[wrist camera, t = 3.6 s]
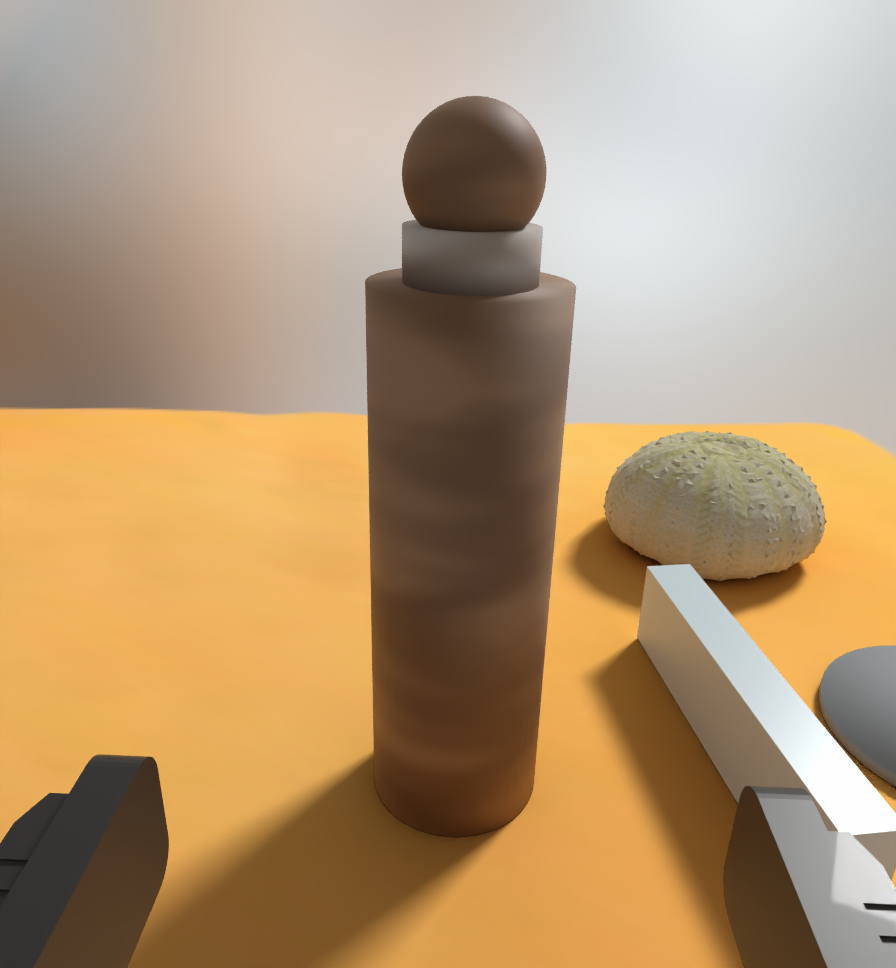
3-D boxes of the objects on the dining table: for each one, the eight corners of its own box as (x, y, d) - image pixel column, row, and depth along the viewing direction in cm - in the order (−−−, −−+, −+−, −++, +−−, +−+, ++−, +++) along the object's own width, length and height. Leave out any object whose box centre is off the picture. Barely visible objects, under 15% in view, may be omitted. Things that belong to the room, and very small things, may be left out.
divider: (814, 930, 19) (842, 836, 18) (637, 637, 30) (647, 565, 29) (877, 922, 19) (908, 829, 18) (678, 634, 30) (690, 563, 29)
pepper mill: (379, 844, 21) (367, 88, 14) (369, 725, 25) (357, 95, 18) (551, 828, 22) (624, 96, 15) (515, 714, 26) (557, 101, 19)
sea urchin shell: (887, 548, 33) (781, 420, 30) (733, 669, 35) (618, 558, 32) (779, 462, 41) (687, 354, 38) (659, 562, 43) (562, 466, 40)
